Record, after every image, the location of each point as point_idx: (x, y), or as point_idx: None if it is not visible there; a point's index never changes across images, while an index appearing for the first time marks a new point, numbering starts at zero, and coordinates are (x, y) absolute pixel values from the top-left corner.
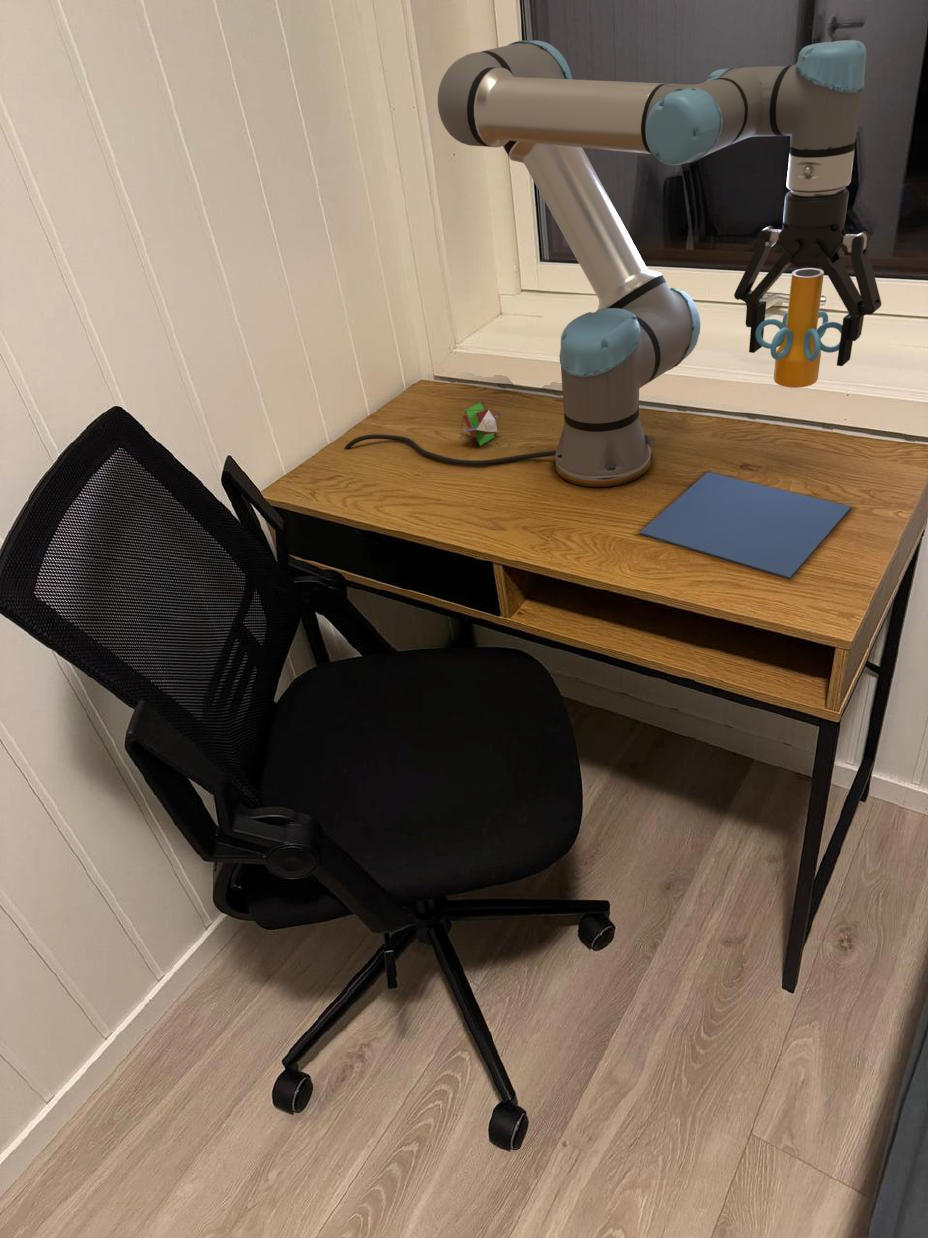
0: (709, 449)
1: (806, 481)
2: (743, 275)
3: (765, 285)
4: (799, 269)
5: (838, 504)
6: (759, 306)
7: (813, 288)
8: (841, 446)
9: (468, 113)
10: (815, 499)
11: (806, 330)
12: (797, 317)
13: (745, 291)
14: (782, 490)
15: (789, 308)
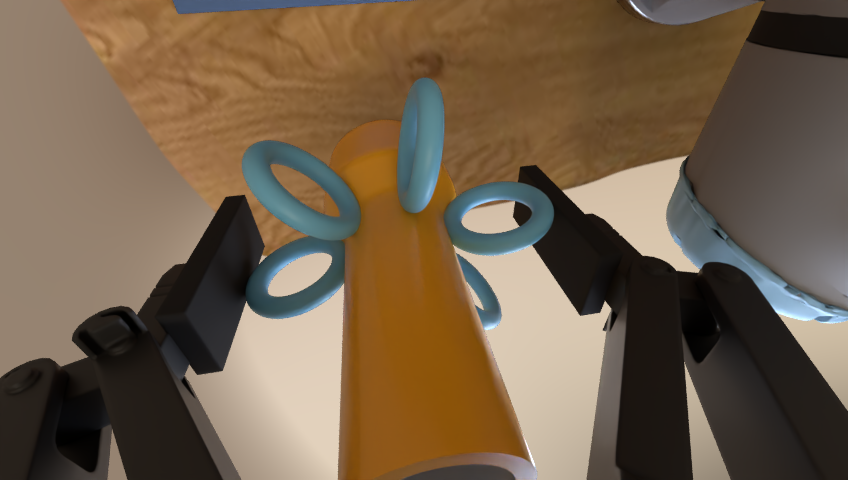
0: (516, 93)
1: (314, 73)
2: (809, 362)
3: (641, 346)
4: None
5: (201, 7)
6: (595, 269)
7: (353, 405)
8: None
9: None
10: (249, 2)
11: (357, 238)
12: (400, 256)
13: (707, 301)
14: (322, 2)
15: (456, 284)
